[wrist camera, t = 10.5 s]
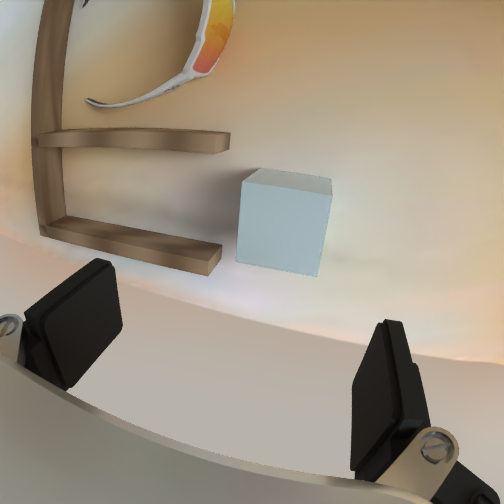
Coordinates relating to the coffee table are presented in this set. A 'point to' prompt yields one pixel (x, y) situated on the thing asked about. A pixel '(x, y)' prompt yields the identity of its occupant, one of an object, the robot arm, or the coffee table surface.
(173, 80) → the sunglasses
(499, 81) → the coffee table surface
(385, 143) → the coffee table surface
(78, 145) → the walnut holder
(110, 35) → the coffee table surface
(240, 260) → the ceramic cube
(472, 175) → the coffee table surface
